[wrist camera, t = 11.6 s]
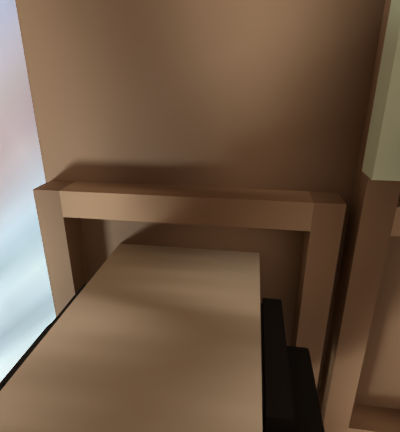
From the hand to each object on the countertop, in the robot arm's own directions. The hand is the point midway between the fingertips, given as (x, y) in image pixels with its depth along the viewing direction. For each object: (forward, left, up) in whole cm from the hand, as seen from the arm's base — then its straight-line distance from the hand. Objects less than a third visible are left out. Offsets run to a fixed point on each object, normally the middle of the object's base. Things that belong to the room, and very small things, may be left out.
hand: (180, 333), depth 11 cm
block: (0, 0, -1) cm, 1 cm away
